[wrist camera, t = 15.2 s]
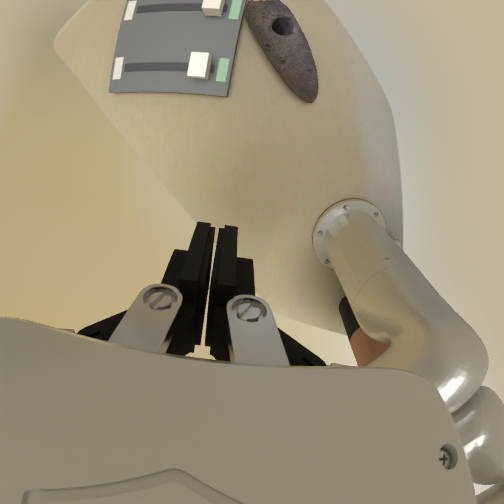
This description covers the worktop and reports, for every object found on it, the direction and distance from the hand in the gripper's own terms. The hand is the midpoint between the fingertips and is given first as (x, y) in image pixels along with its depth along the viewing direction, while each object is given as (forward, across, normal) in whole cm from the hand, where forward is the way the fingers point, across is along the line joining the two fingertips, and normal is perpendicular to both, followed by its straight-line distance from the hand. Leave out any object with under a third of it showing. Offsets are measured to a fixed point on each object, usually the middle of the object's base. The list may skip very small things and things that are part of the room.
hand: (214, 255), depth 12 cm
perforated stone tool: (+27, -4, -14) cm, 31 cm away
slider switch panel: (+27, +10, -15) cm, 33 cm away
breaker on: (+25, +6, -10) cm, 27 cm away
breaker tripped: (+25, +5, -20) cm, 32 cm away
